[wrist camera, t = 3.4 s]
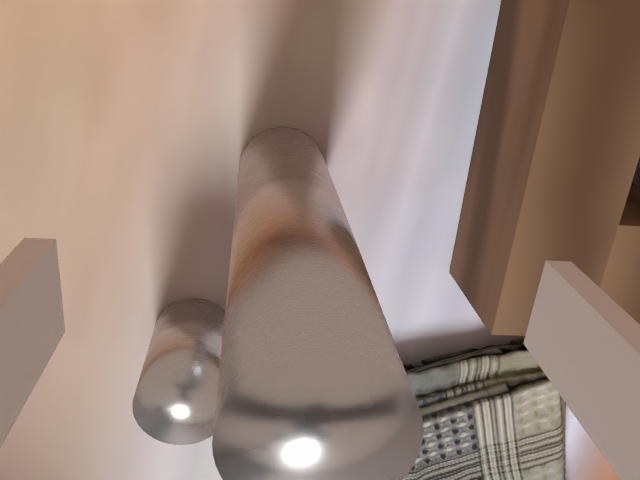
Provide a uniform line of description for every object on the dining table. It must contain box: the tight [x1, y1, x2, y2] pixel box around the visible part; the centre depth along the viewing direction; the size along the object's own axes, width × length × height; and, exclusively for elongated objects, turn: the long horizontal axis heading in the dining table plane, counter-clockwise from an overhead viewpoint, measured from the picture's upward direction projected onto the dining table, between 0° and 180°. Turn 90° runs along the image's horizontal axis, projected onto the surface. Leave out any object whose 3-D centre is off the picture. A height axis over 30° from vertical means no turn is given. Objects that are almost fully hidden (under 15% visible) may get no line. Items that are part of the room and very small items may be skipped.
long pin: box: [212, 127, 423, 480], centre depth 19 cm, size 4×4×18 cm
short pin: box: [133, 298, 225, 445], centre depth 28 cm, size 4×4×6 cm
